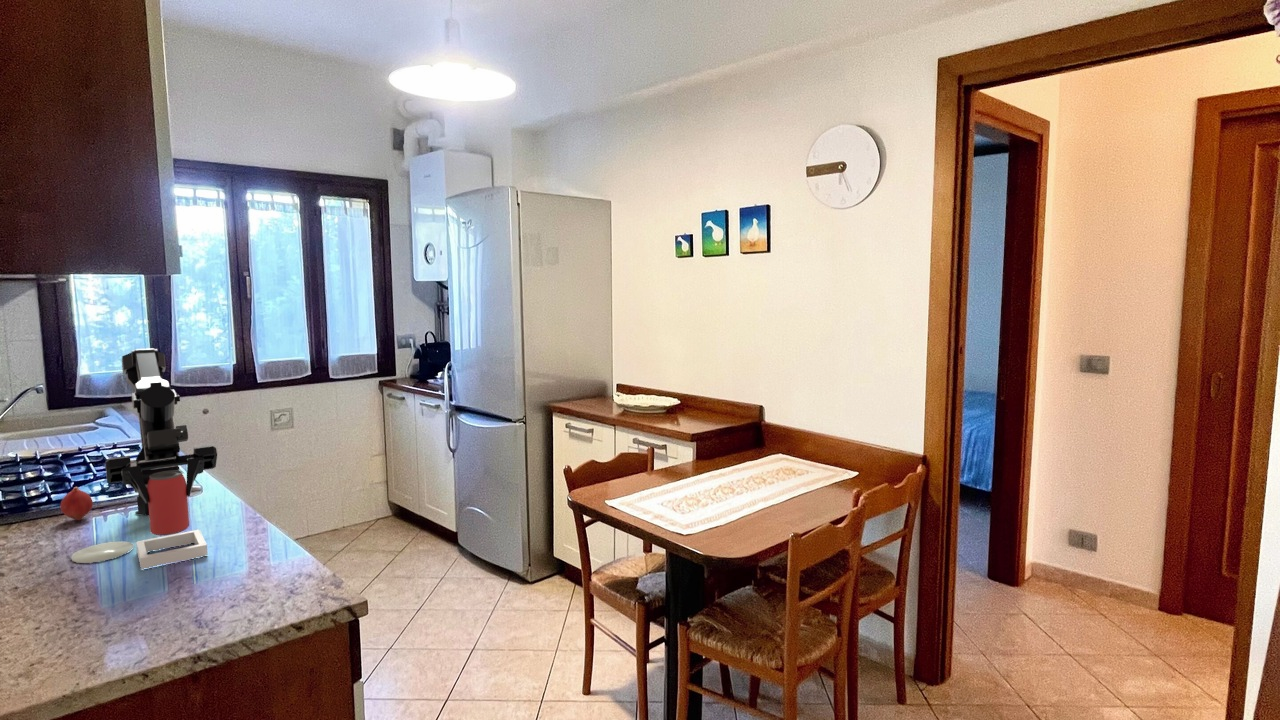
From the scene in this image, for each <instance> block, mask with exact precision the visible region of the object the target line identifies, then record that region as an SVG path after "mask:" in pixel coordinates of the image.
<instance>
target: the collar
mask: <svg viewBox="0 0 1280 720" xmlns="http://www.w3.org/2000/svg"><path fill="white" fill-rule="evenodd" d="M135 542H136V552H137V553H138V554H137V557H138V558H139V559H138V562H140V563H139V566H140V567H141V568H140V570H141V569H144V568H149V567H153V566H157V565H161V564H166V563H171V562H176V561H182V560H188V559H192V558H196V557H201V556H205V555H209V554H208V544H207V542H206V540H205V538H204V536H203V533H202V532H201V529H195V530H188V531H182V532H179V533H176V534H172V535H165V536H158V537H153V538H152V537H151V538H148V539H143V540H138V541H135ZM191 543H195V544H194V545H192V544H191ZM186 544H189V546H187V545H186ZM181 545H184V546H185V547H182V546H181ZM174 546H179V548H176V549H174V548H175V547H174ZM169 547H174V548H173V549H170V550H165V551H161V552H160V551H159V552H155V553H152V554H148V553H147V552H148V551H153V550H159V549H163V548H169ZM180 547H181V548H180Z"/></svg>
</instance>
